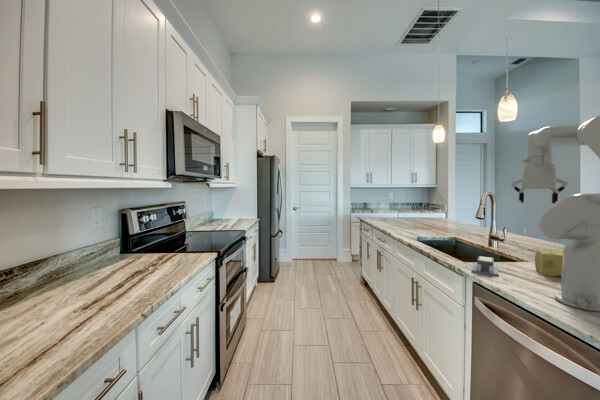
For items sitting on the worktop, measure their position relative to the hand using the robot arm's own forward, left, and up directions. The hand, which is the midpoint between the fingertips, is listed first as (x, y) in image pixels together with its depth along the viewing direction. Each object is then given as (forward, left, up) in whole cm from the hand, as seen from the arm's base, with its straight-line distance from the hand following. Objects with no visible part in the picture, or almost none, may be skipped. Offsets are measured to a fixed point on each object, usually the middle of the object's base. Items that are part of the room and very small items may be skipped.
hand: (537, 202), depth 107 cm
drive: (+6, +17, -32) cm, 37 cm away
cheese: (+18, -8, -34) cm, 39 cm away
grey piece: (+6, +17, -33) cm, 38 cm away
